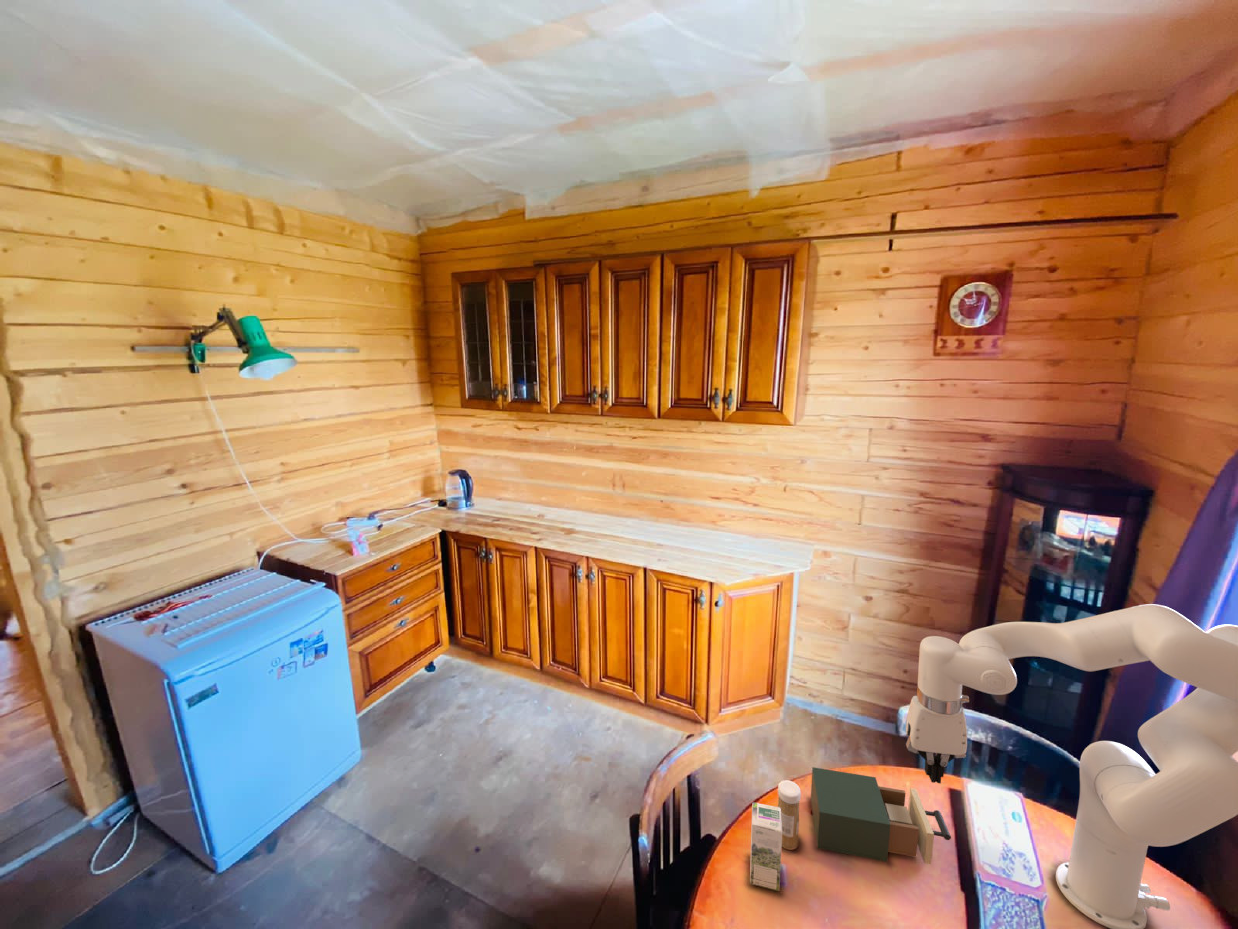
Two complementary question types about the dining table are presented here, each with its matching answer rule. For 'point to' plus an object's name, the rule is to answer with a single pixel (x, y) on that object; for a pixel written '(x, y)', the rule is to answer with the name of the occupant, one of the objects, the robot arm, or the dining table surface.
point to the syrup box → (766, 846)
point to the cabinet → (849, 814)
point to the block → (898, 814)
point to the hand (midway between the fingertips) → (933, 777)
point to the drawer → (913, 826)
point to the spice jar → (789, 812)
